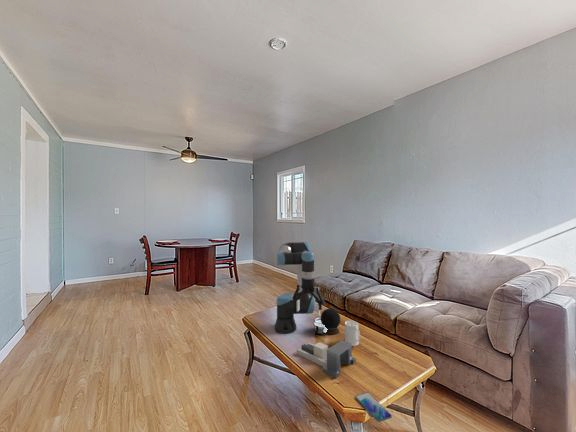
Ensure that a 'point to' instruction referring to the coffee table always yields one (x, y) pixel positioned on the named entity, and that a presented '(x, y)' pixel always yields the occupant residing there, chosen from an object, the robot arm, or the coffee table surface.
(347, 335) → the mug
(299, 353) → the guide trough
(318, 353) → the plug
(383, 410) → the smartphone
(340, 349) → the housing
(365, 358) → the coffee table surface
